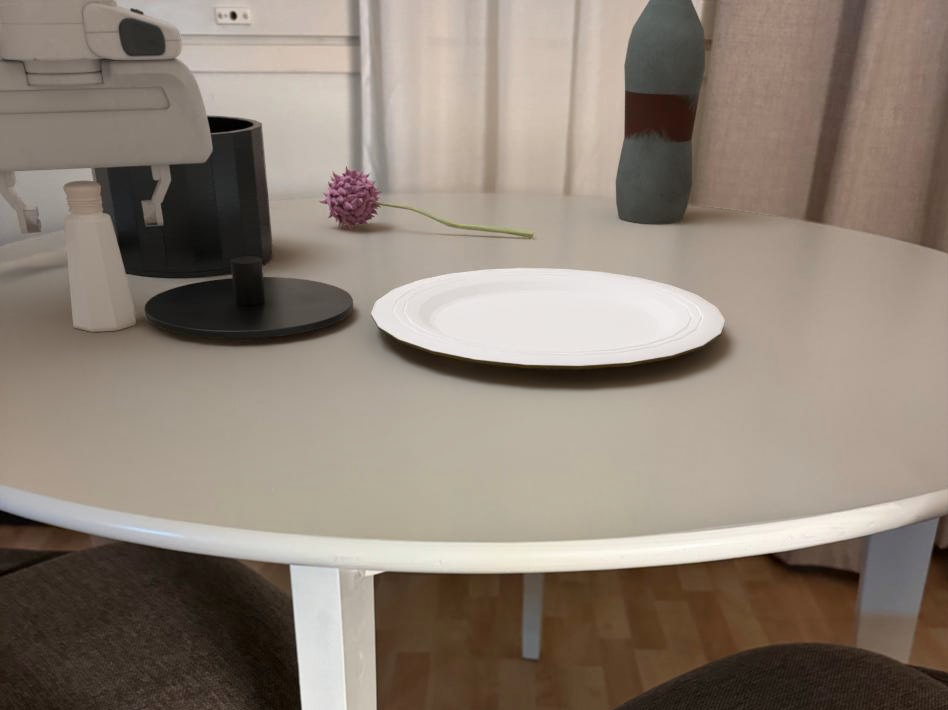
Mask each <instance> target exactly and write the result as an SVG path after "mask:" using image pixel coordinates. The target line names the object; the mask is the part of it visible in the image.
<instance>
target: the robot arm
mask: <svg viewBox="0 0 948 710" xmlns="http://www.w3.org/2000/svg"><path fill="white" fill-rule="evenodd" d="M182 51H183V38H182V33H181V31H180V30H179V28H178V27H177V25H175V24H173V23H171V22H169V21H167V20H164V19H161V18H157V17H154V16H151V15H148V14H145V13H144V11H142V10H140V9H138V8H133V7H131V8H130V9H129V8H126V7H122V6H119V5H118V2H117V0H0V195H1V196H2V197H3V199H4V200H5V201H6V202H7V203H8V205H9V206H10V207H11V208H12V209H13V210H14V211H16V215H17V219H18V224H19V225H18V226H19V229H20V232H21V234H36V233H42V231H43V228H42V222H41V220H40V218H39V216H40V212H39V207H38V205H27V204H26V203H25V202H24V201H23V199H22V198H21V196H20V195H19V194H18V193H17V192H16V190H15V189H14V188H15V185H16V183H17V178H16V177H17V176H16V172H31V171H33V172H34V171H52V170H53V171H56V170H76V169H77V170H79V169H80V170H81V169H91V168H103V167H127V166H150V165H151V170H152V176H153V179H154V180H158V183H157V186H156V188H155V191H154V193H153V196H152V200H141V201H142V208H143V213H144V221H145V226H157V225H158V226H164V224H163V216H162V210H161V203H162V202H163V199H164V197H165V194H166V192H167V189H168V187H169V184H170V182H171V175H170V168H169V165H173V164H196V163H205V162H206V161H207V159H208V158H209V156H210V155H211V153H212V151H213V147H212V139H211V134H210V128H209V123H208V119H207V115H208V114H207V111H206V107H205V102H204V100H203V96H202V93H201V89H200V86H199V84H198V82H197V81H198V80H197V79H196V77H195V75H194V73H193V72H192V70H191V69H190V68H189V66H188V65H186V64H185V63H184V62H183V61H182V60H181V59H179V58H178V57H179V56H180V55H181V54H182Z"/></svg>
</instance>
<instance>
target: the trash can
mask: <svg viewBox="0 0 948 710" xmlns="http://www.w3.org/2000/svg"><path fill="white" fill-rule="evenodd" d="M207 119H208V123H209V128H210V134H211V139H212V147H213V151H212V153H211V155H210V156H209V158H208V159H207V161H206V162H205V163H196V164H173V165H169V168H170V175H171V182H170V184H169V187H168V189H167V192H166V194H165V197H164V199H163V202H162V203H161V210H162V216H163V224H164V226H158V225H157V226H145V221H144V213H143V208H142V201H141V200H152V196H153V193H154V191H155V188H156V186H157V183H158V180H154V179H153V176H152V170H151V165H150V166H127V167H103V168H90V170H91V175H92V181H94V182H97V183H99V184H100V185H101V192H100V196H101V197H102V198H101V199H102V208H103V211H102V212H103V213H105V214H108V215H110V217H111V220H112V223H113V227H114V231H115V234H116V238H117V242H118V246H119V250H120V254H121V257H122V261H123V265H124V269H125V273H126V274H129V275H130V274H131V275H135V276H142V277H153V278H203V277H214V276H223V275H229V274H230V275H231V274H232V272H231V262H230V260H231V259H233V258H236V257H243V256H253V257H259V258H261V259H262V266H263V265H266V264H267V263H270V261H272V259H273V257H274V253H273V252H274V251H273V250H274V244H273V233H272V232H273V231H272V222H271V211H270V200H269V187H268V177H267V166H266V155H265V142H264V131H263V123H262V122H261V121H258V120H256V119H250V118H246V117H245V118H244V117H239V116H238V117H237V116H225V115H208V114H207Z"/></svg>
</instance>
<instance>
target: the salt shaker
mask: <svg viewBox="0 0 948 710" xmlns="http://www.w3.org/2000/svg"><path fill="white" fill-rule="evenodd" d="M62 188H63V191H64V193H65V196H66V203H67V205H68V212H69V213H70V214H68V215H66V216H65V219H64V235H65V248H66V260H67V270H68V280H69V291H70V302H71V303H70V304H71V314H72V325H73V328H74V329H77V330H82V331H85V332H90V333H96V332H99V333H101V332H117V331H120V330H123V329H127V328H130V327H134V326H136V325H137V319H138V315H137V311H136V307H135V303H134V300H133V296H132V292H131V289H130V284H129V281H128V277H127V273H125V269H124V265H123V261H122V257H121V254H120V250H119V246H118V242H117V238H116V234H115V231H114V227H113V223H112V220H111V217H110V215H108V214H105V213H103V212H102V211H103V208H102V199H101V198H102V197H101V196H100V192H101V185H100V184H99V183H97V182H94V181H93V180H74V181H69V182H67V183H65V184H64V185H63V187H62Z"/></svg>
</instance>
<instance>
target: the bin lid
mask: <svg viewBox="0 0 948 710" xmlns="http://www.w3.org/2000/svg"><path fill="white" fill-rule="evenodd" d="M230 262H231V272H232V273H231V277H229V278H220V279H218V278H217V279H210V280H205V281H204V280H203V281H198V282H193V283H188V284H184V285H180V286H175V287H173V288H170V289H167V290H164V291H162V292H159V293H157V294H156V295H154V296H153V297H150V298H149V299H148V300H147V301H146V303H145V304H144V315H145V317H146V320H147V321H148V322H149V323H150V324H151V325H153V326H155V327H157V328H159V329H162V330H165V331H168V332H171V333H175V334H180V335H186V336H192V337H200V338H209V339H210V338H211V339H225V340H252V339H253V340H254V339H269V338H276V337H277V338H278V337H285V336H290V335H296V334H303V333H307V332H312V331H315V330H319V329H324V328H326V327H329V326H332V325H335V324H337V323H339V322H340V321H343V320H344V319H346V318H347V317H349V315H350V314H351V313H352V312H353V310H354V299H353V297H352V295H351V294H350V293H349V292H348V291H346V290H345V289H343V288H340V287H338V286H335V285H333V284H329V283H326V282H321V281H317V280H310V279H303V278H296V277H295V278H293V277H280V276H264V270H263V265H262V259H261V258H259V257H253V256H243V257H236V258H233V259H231V260H230Z"/></svg>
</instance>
